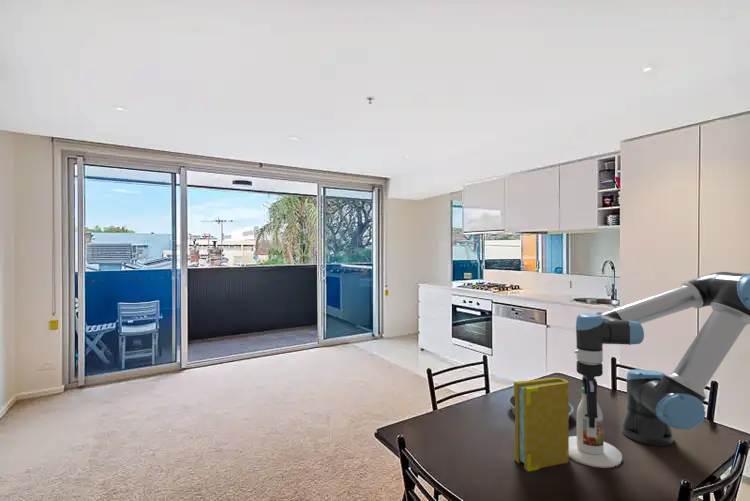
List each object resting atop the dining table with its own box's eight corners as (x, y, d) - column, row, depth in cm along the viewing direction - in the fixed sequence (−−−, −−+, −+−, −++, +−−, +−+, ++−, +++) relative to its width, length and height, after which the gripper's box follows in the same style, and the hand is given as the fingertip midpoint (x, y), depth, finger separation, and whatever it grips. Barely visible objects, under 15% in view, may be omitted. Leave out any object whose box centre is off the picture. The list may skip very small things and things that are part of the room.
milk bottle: (573, 449, 128) (572, 388, 129) (581, 441, 134) (580, 382, 134) (599, 458, 123) (598, 394, 123) (606, 449, 128) (605, 388, 129)
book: (528, 471, 118) (527, 389, 118) (514, 459, 125) (513, 381, 124) (574, 462, 123) (573, 382, 123) (558, 451, 129) (557, 376, 129)
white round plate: (616, 444, 133) (616, 441, 133) (627, 472, 117) (627, 469, 117) (558, 435, 140) (558, 432, 140) (561, 460, 124) (561, 457, 124)
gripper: (573, 352, 139) (574, 415, 140) (579, 369, 120) (580, 443, 120) (597, 354, 136) (598, 419, 137) (607, 372, 117) (608, 447, 117)
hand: (589, 430), depth 128 cm, fingers open, 8 cm apart
